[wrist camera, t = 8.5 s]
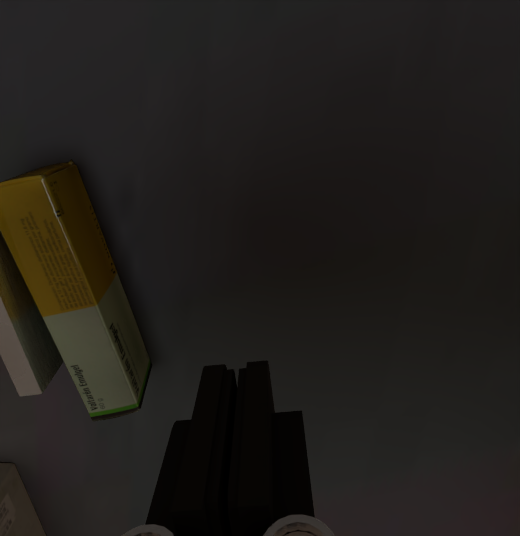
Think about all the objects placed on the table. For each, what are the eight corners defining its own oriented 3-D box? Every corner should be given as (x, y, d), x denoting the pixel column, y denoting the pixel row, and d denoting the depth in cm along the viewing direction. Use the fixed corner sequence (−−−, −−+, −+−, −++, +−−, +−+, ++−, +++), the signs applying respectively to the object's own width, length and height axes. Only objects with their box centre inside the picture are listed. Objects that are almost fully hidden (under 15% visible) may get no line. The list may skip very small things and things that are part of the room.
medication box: (157, 364, 23) (142, 415, 20) (112, 374, 23) (89, 426, 20) (78, 157, 18) (39, 172, 15) (22, 169, 19) (-31, 188, 15)
